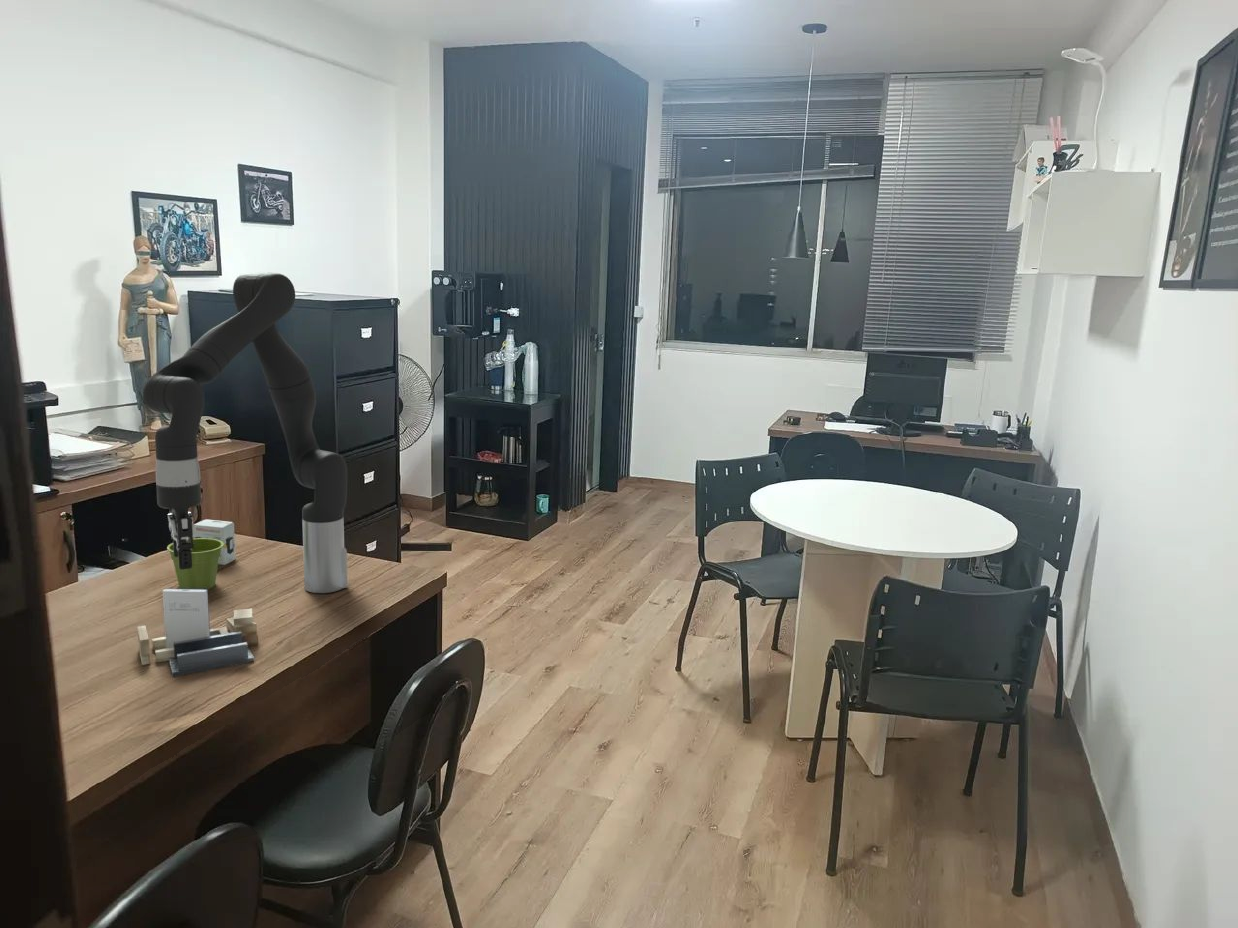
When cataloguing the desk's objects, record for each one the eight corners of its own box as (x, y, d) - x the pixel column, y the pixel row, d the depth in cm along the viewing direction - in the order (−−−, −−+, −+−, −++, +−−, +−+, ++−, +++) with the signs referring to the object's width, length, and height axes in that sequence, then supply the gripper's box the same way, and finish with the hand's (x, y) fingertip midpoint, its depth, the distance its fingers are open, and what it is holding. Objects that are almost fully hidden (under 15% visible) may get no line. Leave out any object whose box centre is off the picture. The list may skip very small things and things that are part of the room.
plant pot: (204, 602, 193) (202, 554, 191) (158, 596, 195) (154, 549, 193) (236, 585, 205) (234, 540, 202) (192, 580, 207) (189, 535, 204)
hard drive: (169, 647, 169) (165, 588, 167) (211, 647, 170) (208, 589, 168) (165, 650, 168) (161, 591, 165) (208, 651, 169) (205, 591, 166)
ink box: (193, 569, 215) (191, 523, 212) (206, 563, 219) (203, 518, 217) (225, 572, 213) (222, 526, 211) (236, 566, 218) (234, 521, 216)
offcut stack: (251, 631, 179) (250, 605, 177) (258, 643, 173) (257, 617, 172) (226, 635, 176) (225, 609, 175) (232, 648, 170) (231, 621, 169)
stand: (247, 647, 171) (246, 629, 170) (253, 661, 165) (253, 643, 164) (168, 661, 163) (167, 643, 162) (172, 676, 157) (171, 657, 157)
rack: (226, 635, 176) (225, 612, 175) (232, 648, 170) (231, 625, 169) (138, 650, 167) (137, 626, 166) (142, 664, 161) (140, 640, 160)
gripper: (205, 487, 158) (209, 570, 162) (195, 472, 170) (199, 550, 173) (159, 490, 154) (164, 575, 157) (152, 474, 166) (157, 554, 169)
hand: (182, 562), depth 165 cm, fingers open, 8 cm apart
